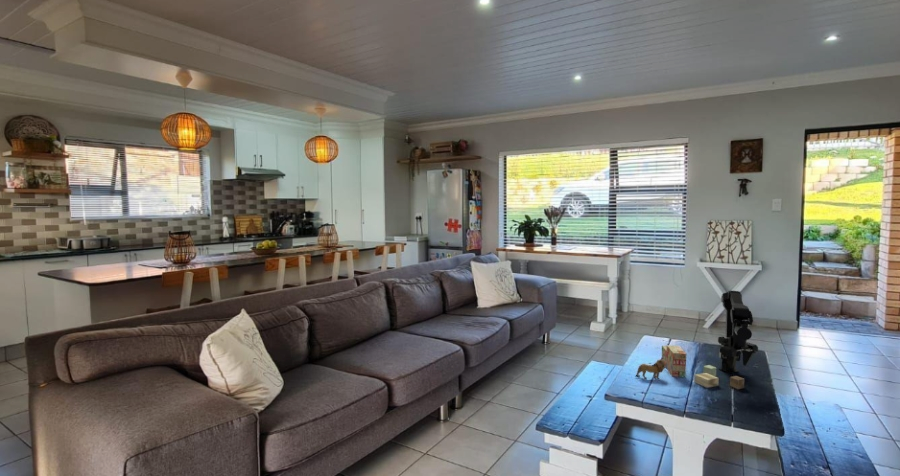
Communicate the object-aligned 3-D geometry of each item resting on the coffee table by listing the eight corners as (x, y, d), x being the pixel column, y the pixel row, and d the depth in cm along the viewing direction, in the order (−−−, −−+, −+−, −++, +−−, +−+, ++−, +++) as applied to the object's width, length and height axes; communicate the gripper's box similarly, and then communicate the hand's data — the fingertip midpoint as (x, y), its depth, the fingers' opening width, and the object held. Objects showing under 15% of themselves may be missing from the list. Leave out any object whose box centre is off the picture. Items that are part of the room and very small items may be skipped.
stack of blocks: (661, 361, 247) (661, 339, 246) (673, 362, 245) (674, 340, 245) (672, 376, 226) (673, 352, 225) (685, 377, 225) (686, 353, 224)
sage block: (708, 373, 230) (709, 365, 229) (716, 376, 226) (716, 367, 226) (703, 374, 228) (703, 366, 228) (710, 377, 224) (710, 368, 224)
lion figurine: (661, 375, 227) (662, 357, 227) (667, 379, 222) (667, 361, 221) (632, 375, 227) (633, 358, 226) (637, 380, 221) (638, 362, 221)
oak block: (705, 380, 221) (706, 372, 221) (718, 386, 214) (718, 378, 214) (694, 382, 219) (694, 374, 218) (706, 388, 212) (707, 379, 212)
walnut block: (735, 384, 215) (736, 375, 215) (743, 388, 212) (744, 378, 211) (729, 386, 214) (730, 376, 214) (738, 389, 210) (738, 380, 210)
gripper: (736, 327, 222) (735, 358, 223) (709, 331, 215) (708, 363, 216) (759, 333, 212) (757, 366, 213) (731, 338, 205) (730, 371, 206)
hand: (737, 366), depth 212 cm, fingers open, 9 cm apart
